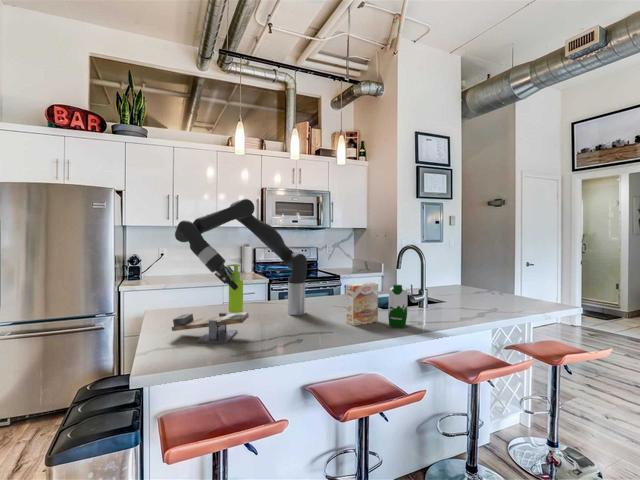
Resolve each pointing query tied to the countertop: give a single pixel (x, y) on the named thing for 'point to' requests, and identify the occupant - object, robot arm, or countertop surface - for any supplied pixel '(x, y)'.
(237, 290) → the soap dispenser
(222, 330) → the seesaw stand
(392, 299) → the milk carton
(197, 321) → the seesaw board
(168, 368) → the countertop surface
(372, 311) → the coffeecake box
